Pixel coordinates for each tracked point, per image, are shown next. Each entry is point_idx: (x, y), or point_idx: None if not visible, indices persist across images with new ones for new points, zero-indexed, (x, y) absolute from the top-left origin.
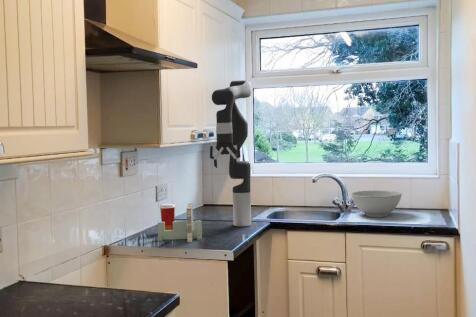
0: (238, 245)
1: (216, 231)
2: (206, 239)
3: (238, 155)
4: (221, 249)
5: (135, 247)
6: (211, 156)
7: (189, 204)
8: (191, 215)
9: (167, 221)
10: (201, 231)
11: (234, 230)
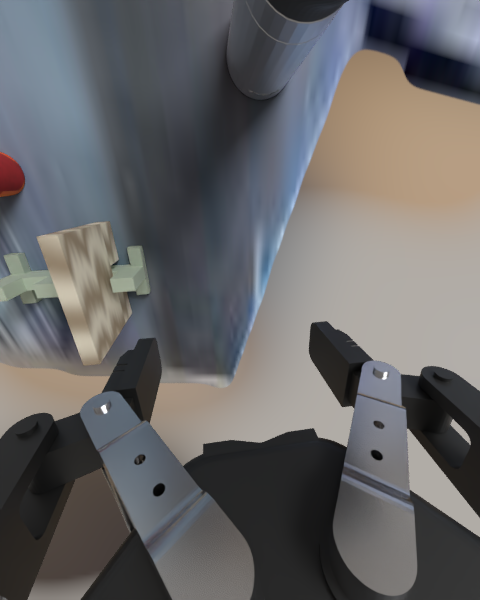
0: (244, 346)
1: (174, 176)
2: (163, 287)
3: (426, 439)
4: (211, 375)
5: (3, 358)
6: (55, 493)
7: (52, 262)
8: (105, 332)
9: None
10: (142, 275)
11: (232, 167)
